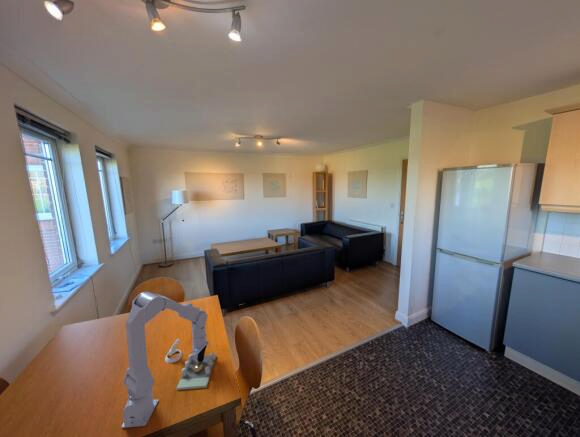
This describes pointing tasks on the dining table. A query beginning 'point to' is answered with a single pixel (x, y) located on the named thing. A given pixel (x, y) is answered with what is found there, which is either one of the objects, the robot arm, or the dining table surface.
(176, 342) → the vr controller
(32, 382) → the dining table surface
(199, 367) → the brass metal puck
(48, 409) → the dining table surface
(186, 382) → the board
